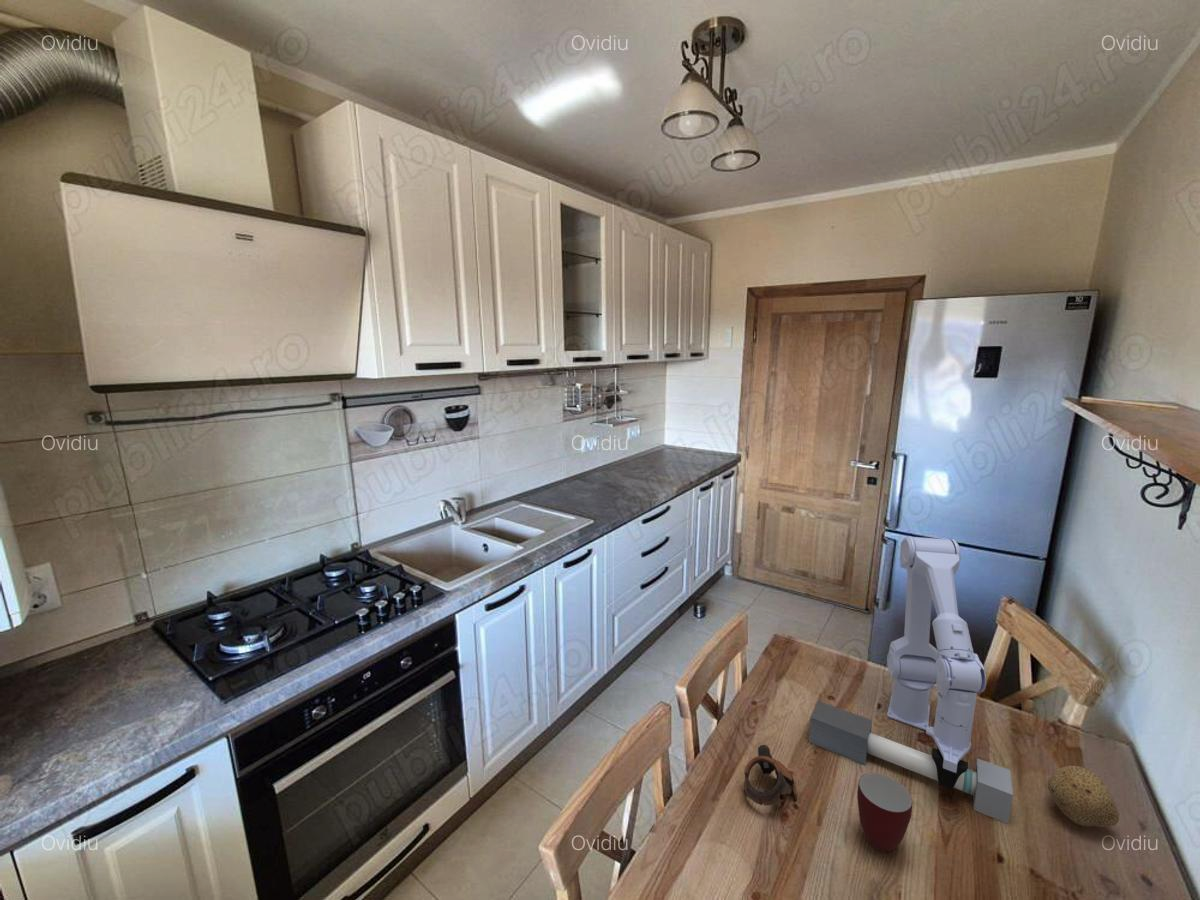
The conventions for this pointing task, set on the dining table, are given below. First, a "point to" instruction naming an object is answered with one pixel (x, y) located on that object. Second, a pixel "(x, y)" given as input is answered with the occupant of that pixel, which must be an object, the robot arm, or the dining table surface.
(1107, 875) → the dining table surface
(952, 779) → the robot arm
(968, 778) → the tube
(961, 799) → the dining table surface
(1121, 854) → the dining table surface
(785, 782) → the brown ring clamp
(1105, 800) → the natural sponge
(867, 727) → the grey stone block
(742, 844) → the dining table surface
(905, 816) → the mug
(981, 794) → the socket
